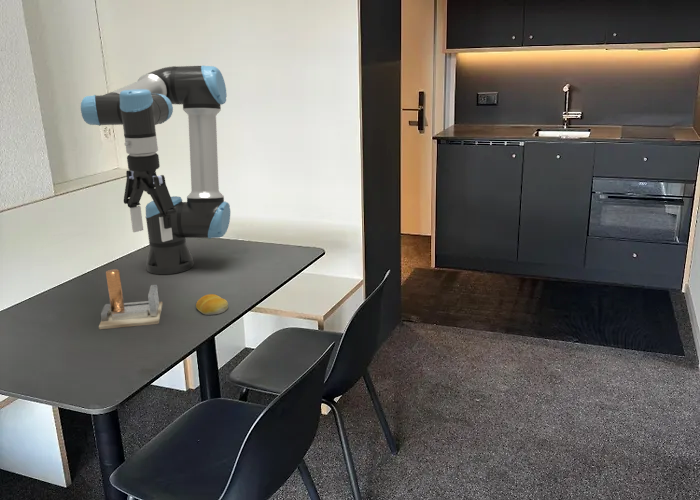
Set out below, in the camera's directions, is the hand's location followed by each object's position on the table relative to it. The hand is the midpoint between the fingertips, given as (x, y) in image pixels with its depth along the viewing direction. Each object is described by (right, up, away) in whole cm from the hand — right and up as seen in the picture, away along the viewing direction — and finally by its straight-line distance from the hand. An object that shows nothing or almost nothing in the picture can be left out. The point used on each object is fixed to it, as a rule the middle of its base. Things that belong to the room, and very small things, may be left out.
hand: (152, 235), depth 166 cm
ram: (-8, -21, +10) cm, 24 cm away
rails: (-10, -21, +9) cm, 25 cm away
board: (-8, -22, +10) cm, 25 cm away
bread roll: (+13, -21, +14) cm, 28 cm away
